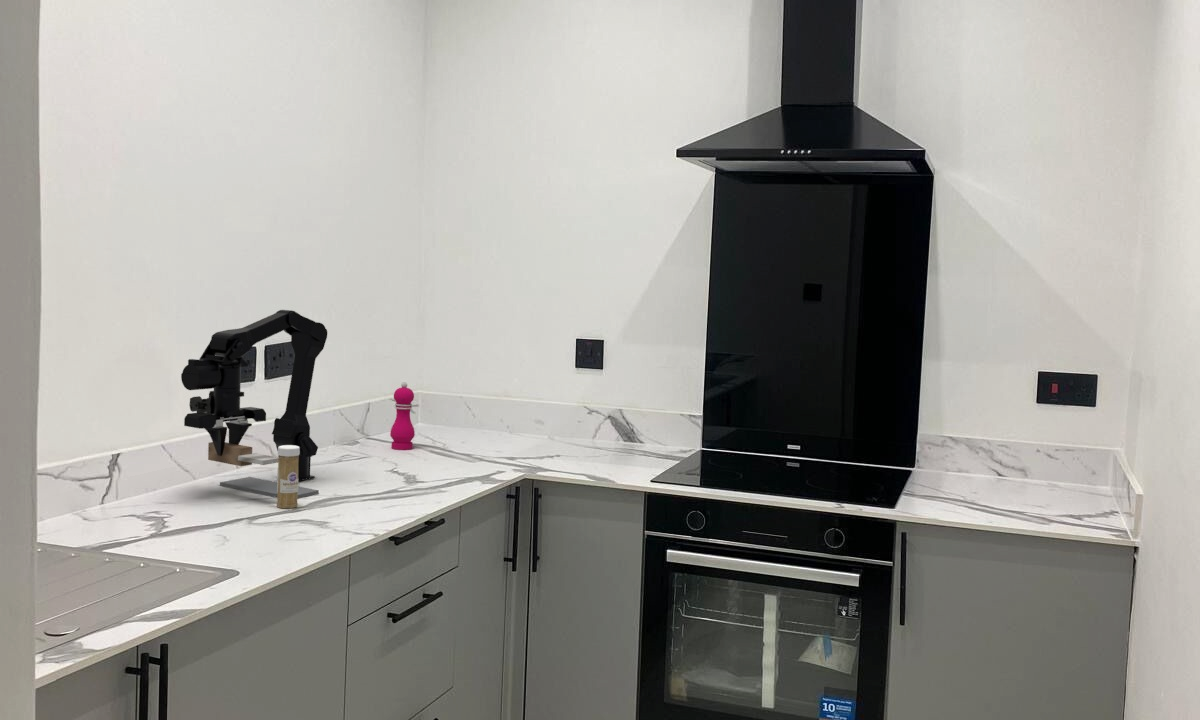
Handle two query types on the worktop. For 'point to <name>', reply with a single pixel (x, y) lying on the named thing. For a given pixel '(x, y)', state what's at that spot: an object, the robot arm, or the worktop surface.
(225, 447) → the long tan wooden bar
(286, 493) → the sprinkles bottle
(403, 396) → the pepper mill
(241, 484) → the tool mat
